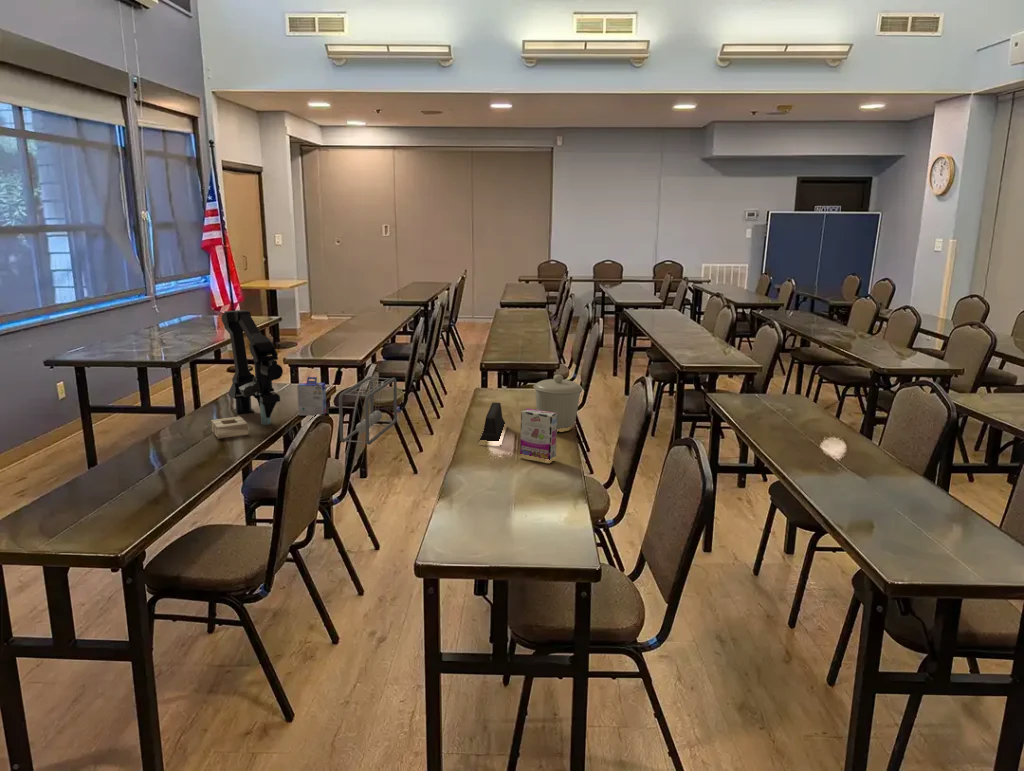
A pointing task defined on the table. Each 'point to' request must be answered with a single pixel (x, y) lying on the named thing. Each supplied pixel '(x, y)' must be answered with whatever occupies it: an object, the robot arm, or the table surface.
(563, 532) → the table surface
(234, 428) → the jig block
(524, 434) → the candy bar box
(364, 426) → the cube frame
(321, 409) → the ink cartridge box
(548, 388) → the canister
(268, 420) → the pin
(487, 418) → the barrier
